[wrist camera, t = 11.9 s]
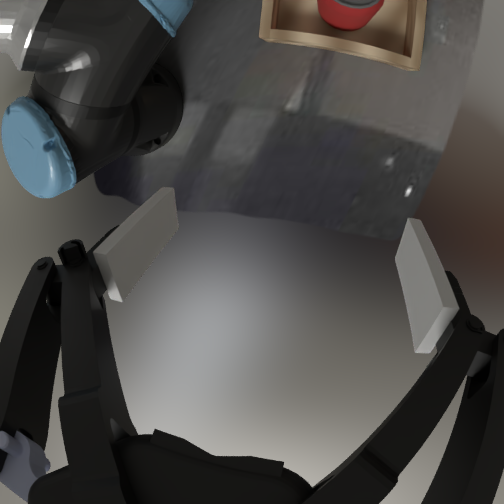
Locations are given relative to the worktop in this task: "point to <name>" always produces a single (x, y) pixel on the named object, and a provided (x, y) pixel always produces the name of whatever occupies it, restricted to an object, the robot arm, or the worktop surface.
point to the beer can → (348, 12)
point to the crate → (351, 42)
